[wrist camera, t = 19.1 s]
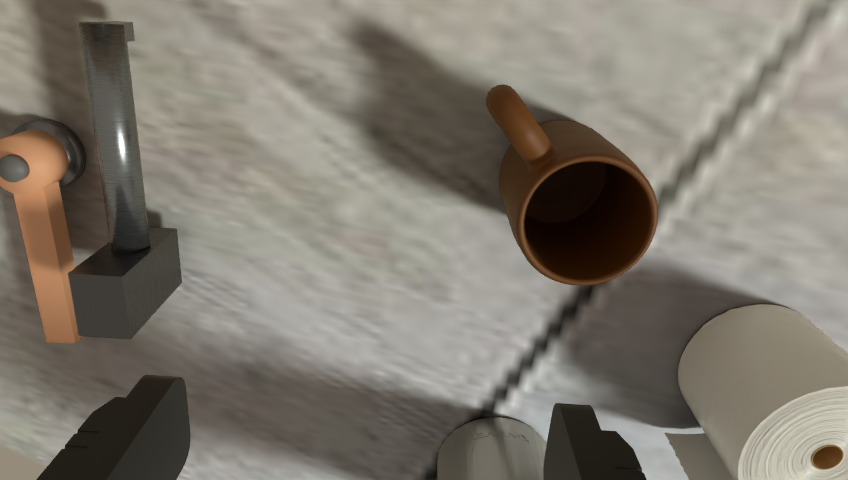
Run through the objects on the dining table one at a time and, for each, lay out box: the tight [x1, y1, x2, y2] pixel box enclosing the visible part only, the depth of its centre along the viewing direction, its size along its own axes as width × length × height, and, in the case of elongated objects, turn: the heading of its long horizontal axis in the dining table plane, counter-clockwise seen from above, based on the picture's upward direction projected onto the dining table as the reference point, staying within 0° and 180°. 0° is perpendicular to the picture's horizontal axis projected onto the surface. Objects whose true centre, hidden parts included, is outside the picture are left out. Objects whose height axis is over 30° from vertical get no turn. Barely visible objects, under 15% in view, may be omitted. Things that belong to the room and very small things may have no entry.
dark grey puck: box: [12, 120, 86, 187], centre depth 39 cm, size 4×4×1 cm
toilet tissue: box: [665, 304, 848, 480], centre depth 41 cm, size 11×12×10 cm
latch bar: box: [0, 130, 83, 344], centre depth 39 cm, size 4×15×3 cm, turn 178°
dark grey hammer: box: [68, 21, 182, 339], centre depth 35 cm, size 17×3×8 cm, turn 176°
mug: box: [486, 85, 658, 286], centre depth 35 cm, size 12×8×9 cm, turn 37°
